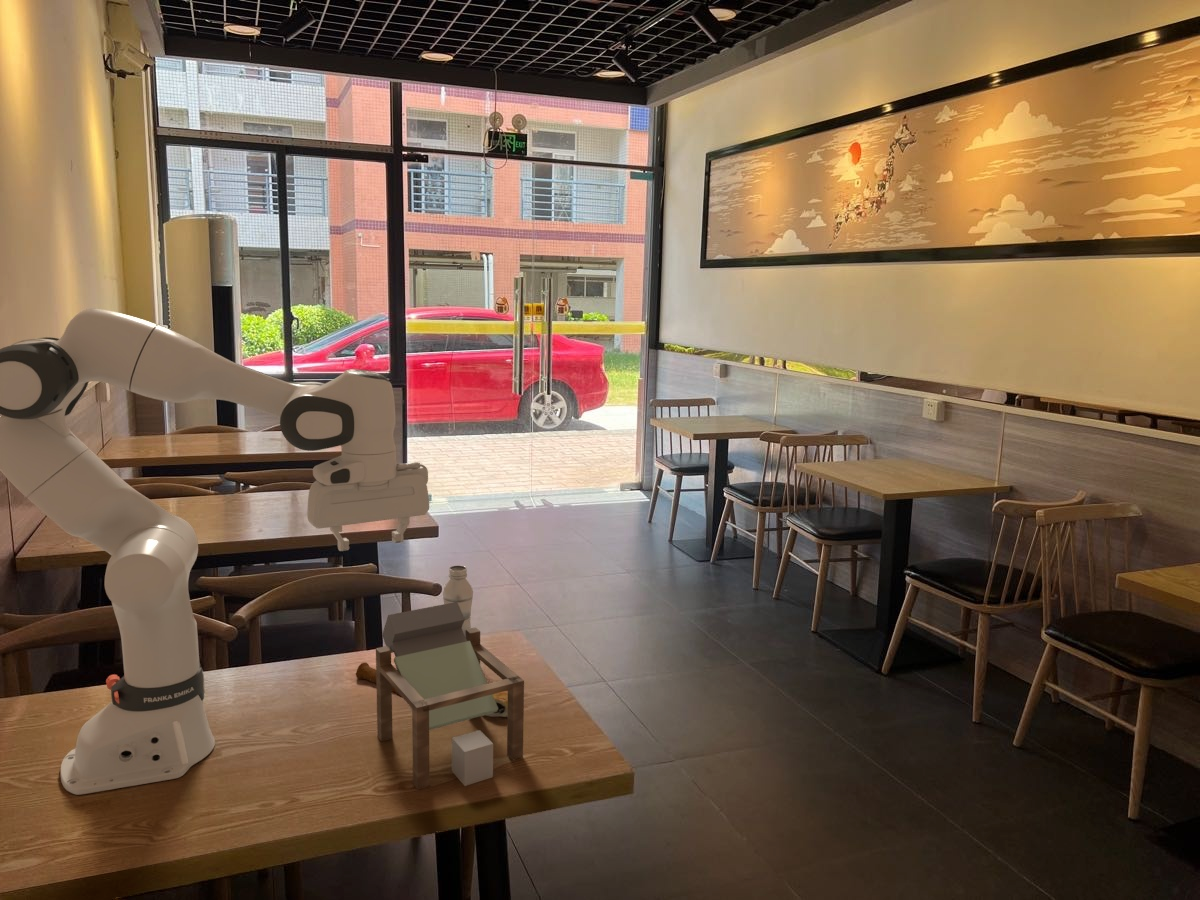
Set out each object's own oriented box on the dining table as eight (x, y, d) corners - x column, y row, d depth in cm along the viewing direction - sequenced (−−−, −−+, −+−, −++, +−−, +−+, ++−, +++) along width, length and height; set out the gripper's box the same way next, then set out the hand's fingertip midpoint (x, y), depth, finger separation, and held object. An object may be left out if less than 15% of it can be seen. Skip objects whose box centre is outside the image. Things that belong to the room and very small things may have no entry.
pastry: (492, 693, 169) (493, 675, 168) (526, 697, 168) (526, 679, 167) (478, 717, 160) (478, 698, 159) (514, 721, 159) (514, 702, 158)
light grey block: (464, 752, 137) (464, 786, 138) (493, 743, 139) (492, 777, 141) (451, 737, 141) (451, 771, 142) (479, 729, 144) (479, 762, 145)
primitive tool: (442, 696, 168) (442, 680, 167) (425, 709, 163) (424, 692, 162) (366, 674, 176) (365, 658, 175) (347, 685, 171) (346, 669, 171)
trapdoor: (416, 740, 142) (423, 721, 139) (379, 635, 154) (385, 615, 150) (493, 719, 150) (502, 701, 146) (452, 620, 162) (459, 601, 158)
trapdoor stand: (417, 789, 136) (416, 692, 133) (377, 736, 152) (375, 648, 149) (522, 757, 147) (524, 666, 143) (475, 710, 162) (475, 627, 159)
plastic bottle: (472, 650, 188) (472, 562, 184) (474, 663, 182) (474, 572, 178) (442, 651, 187) (441, 563, 183) (443, 665, 180) (442, 574, 176)
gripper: (420, 457, 153) (421, 532, 156) (302, 468, 142) (306, 549, 145) (434, 464, 148) (435, 542, 151) (313, 476, 137) (316, 559, 139)
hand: (371, 545), depth 148 cm, fingers open, 8 cm apart
